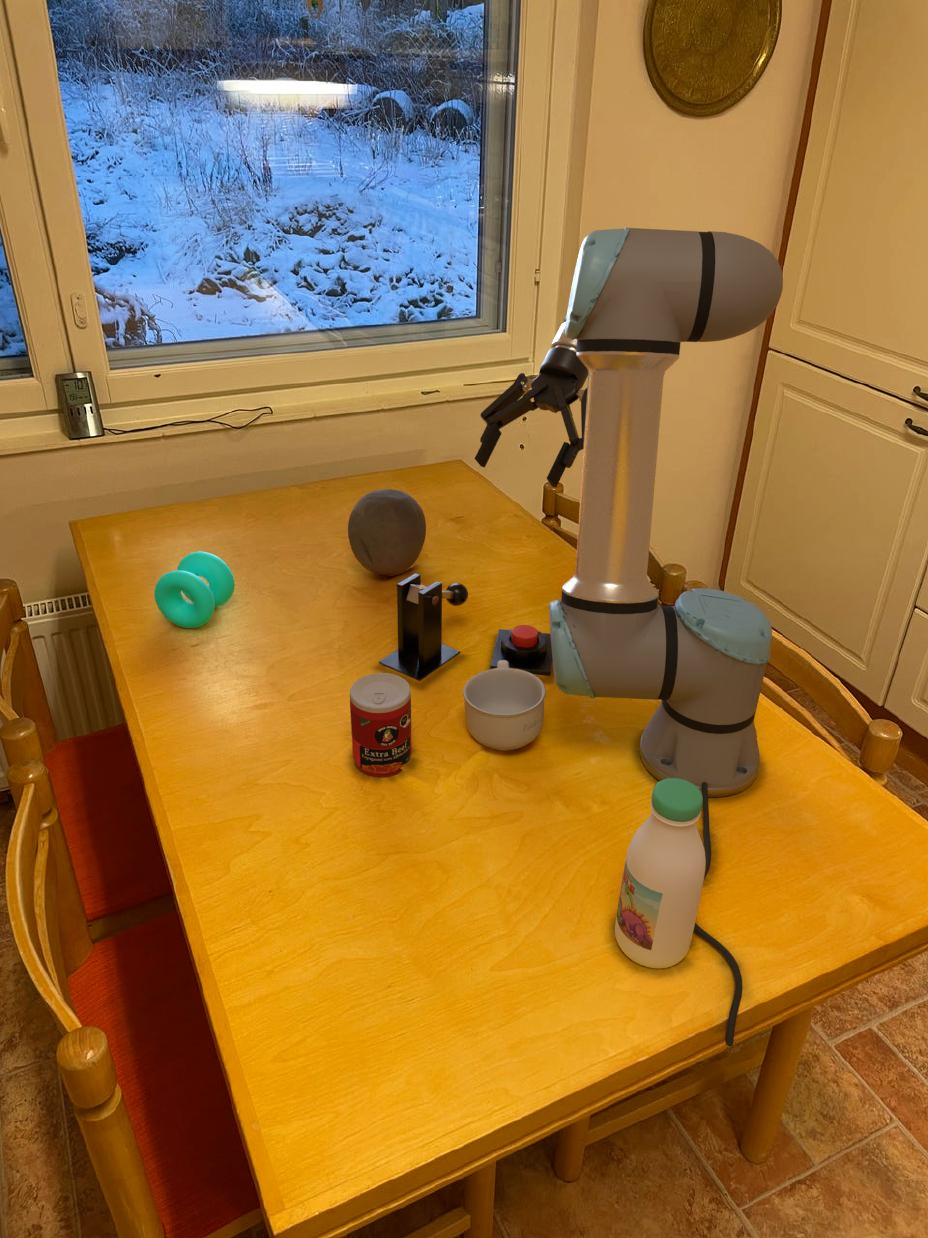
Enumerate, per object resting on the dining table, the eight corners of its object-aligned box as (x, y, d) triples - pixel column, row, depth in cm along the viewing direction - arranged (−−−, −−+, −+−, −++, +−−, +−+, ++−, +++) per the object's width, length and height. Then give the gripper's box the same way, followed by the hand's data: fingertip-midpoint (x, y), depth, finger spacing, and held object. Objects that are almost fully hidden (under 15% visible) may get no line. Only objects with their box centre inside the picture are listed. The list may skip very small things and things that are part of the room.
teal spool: (155, 626, 146) (146, 571, 141) (186, 597, 154) (178, 545, 149) (212, 635, 144) (204, 580, 139) (240, 605, 152) (234, 552, 147)
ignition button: (536, 649, 136) (537, 639, 135) (509, 647, 137) (510, 636, 136) (538, 636, 140) (539, 625, 139) (512, 633, 140) (513, 623, 139)
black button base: (549, 681, 135) (551, 661, 133) (490, 675, 136) (490, 655, 134) (554, 643, 144) (555, 624, 142) (498, 637, 145) (499, 619, 143)
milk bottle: (679, 910, 97) (708, 765, 87) (697, 970, 91) (731, 820, 81) (608, 911, 97) (629, 765, 87) (621, 972, 90) (645, 821, 80)
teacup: (536, 767, 117) (540, 717, 113) (454, 755, 119) (455, 706, 115) (549, 706, 129) (553, 659, 125) (474, 696, 131) (476, 649, 127)
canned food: (358, 783, 114) (355, 712, 108) (348, 745, 121) (344, 676, 115) (417, 773, 116) (417, 703, 110) (404, 736, 122) (403, 668, 117)
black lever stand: (420, 641, 144) (419, 563, 137) (460, 657, 140) (462, 578, 133) (378, 668, 137) (376, 587, 130) (419, 686, 133) (419, 604, 126)
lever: (450, 601, 143) (456, 580, 143) (469, 608, 142) (475, 586, 141) (401, 602, 132) (407, 578, 132) (420, 609, 130) (426, 586, 130)
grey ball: (438, 580, 162) (438, 503, 154) (361, 593, 157) (358, 514, 149) (412, 548, 173) (411, 474, 165) (340, 559, 168) (336, 483, 161)
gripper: (645, 385, 143) (590, 502, 140) (514, 358, 155) (460, 466, 152) (634, 358, 136) (575, 480, 133) (498, 332, 149) (442, 444, 146)
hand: (514, 473), depth 143 cm, fingers open, 13 cm apart
